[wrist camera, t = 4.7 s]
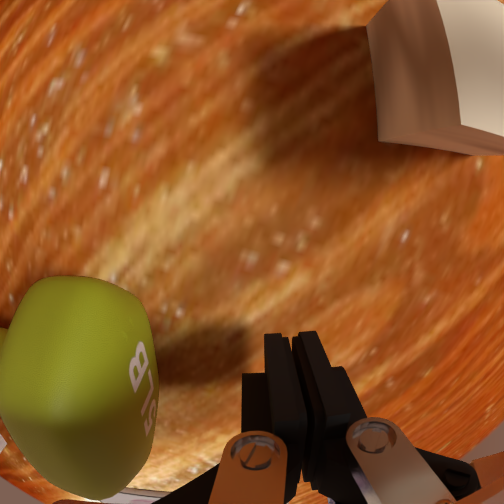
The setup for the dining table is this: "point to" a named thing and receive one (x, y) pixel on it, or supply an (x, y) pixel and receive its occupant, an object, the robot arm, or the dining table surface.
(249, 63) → the dining table surface
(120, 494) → the smartphone
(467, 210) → the dining table surface
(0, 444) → the grey block
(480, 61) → the maple block
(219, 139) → the dining table surface
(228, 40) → the dining table surface
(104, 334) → the dumbbell
